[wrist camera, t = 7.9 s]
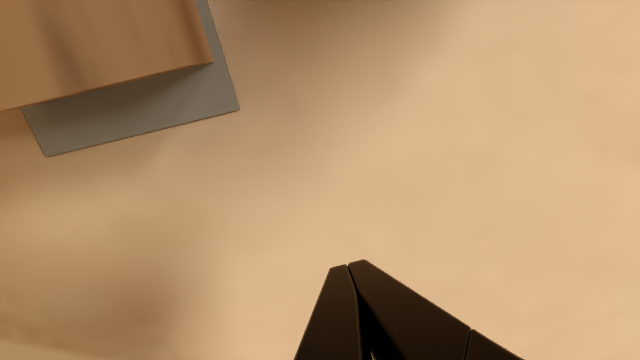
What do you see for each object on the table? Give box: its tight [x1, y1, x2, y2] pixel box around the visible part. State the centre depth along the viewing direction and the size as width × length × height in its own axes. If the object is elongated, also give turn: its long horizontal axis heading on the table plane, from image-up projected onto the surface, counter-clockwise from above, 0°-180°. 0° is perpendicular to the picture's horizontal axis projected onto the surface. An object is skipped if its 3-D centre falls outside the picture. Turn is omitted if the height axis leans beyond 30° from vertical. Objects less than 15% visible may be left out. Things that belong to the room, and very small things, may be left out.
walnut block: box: [0, 0, 214, 112], centre depth 14 cm, size 5×5×9 cm
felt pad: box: [21, 0, 240, 157], centre depth 17 cm, size 10×10×1 cm
